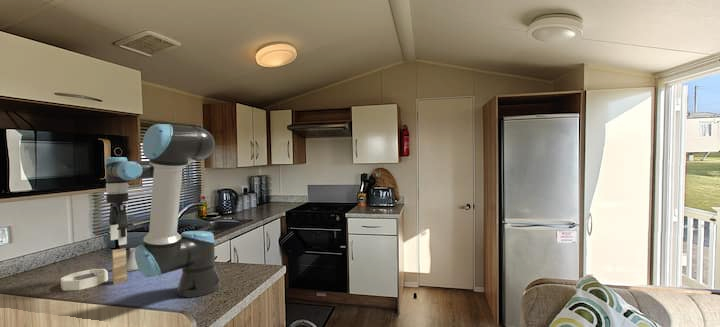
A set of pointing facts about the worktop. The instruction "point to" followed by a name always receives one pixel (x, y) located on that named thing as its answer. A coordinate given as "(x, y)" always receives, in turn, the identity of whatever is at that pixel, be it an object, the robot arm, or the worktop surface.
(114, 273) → the wooden block
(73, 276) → the white octagonal tray
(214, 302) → the worktop surface
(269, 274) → the worktop surface
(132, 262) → the flask
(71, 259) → the worktop surface
